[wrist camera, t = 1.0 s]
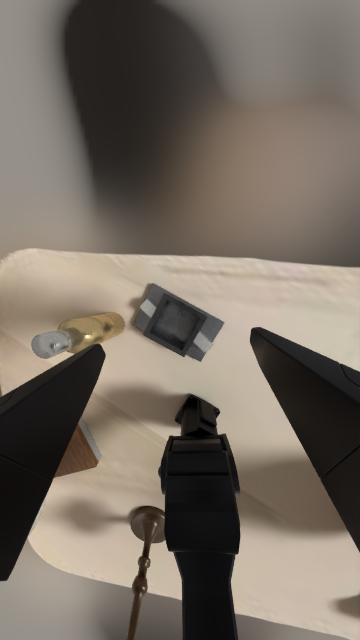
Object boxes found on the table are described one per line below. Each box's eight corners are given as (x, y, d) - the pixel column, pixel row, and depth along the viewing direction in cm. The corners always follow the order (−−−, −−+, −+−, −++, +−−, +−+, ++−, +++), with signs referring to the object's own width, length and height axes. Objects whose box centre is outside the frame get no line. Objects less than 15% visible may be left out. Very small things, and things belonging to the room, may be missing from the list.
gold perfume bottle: (119, 339, 26) (55, 374, 14) (99, 328, 26) (17, 354, 14) (128, 319, 25) (69, 339, 13) (108, 308, 25) (30, 317, 13)
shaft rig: (200, 359, 26) (201, 368, 22) (134, 323, 25) (126, 327, 22) (223, 321, 24) (228, 325, 21) (154, 283, 24) (148, 281, 21)
